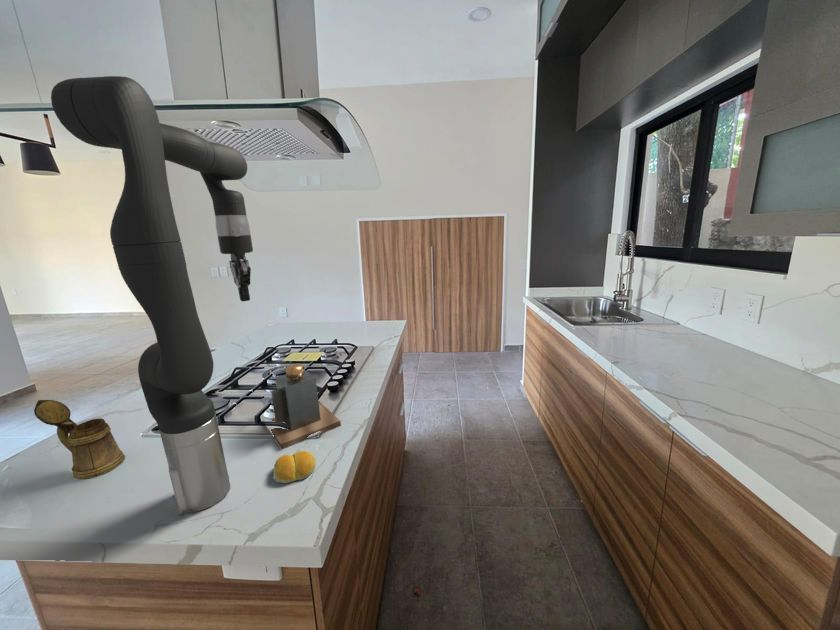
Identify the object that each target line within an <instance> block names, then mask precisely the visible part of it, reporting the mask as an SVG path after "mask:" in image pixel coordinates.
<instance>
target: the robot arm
mask: <svg viewBox="0 0 840 630" xmlns="http://www.w3.org/2000/svg"><path fill="white" fill-rule="evenodd" d="M50 101H51V106H52V109H53V111H54V113H55V116H56V118H57V119H58V120H59V123H60V124H61V125H62V126H63V127H64V128H65V129H66V130H67V132H69V133H70V134H71V135H73V137H75V138H76V139H78V140H80V141H81V142H83V143H85V144H88V145H91V146H95V147H100V148H107V149H108V148H109V149H116V150H121V154H122V160H123V164H124V165H123V166H124V182H123V188H122V193H121V195H120V197H119V200H118V203H117V205H116V208H115V210H114V213H113V217H112V220H111V225H110V229H109V232H110V233H109V235H110V240H111V245H112V249H113V253H114V257H115V259H116V263H117V266H118V270H119V272H120V275H121V277H122V279H123V281H124V282H125V284H126V286H127V288H128V289H129V291H130V292H131V294H132V295H133V297H134V298H135V300H136V301H137V302H138V304H139V305H140V307H141V308H142V309H143V311H144V312H145V314H146V315H147V317H148V319H149V321H150V322H151V326H152V328H153V331H154V334H155V338H156V342H155V343H153V344H151V345H149V346H148V347H147V348H146V349H145V350H144V351H143V352H142V353H141V355H140V358H139V360H138V363H137V372H138V379H139V381H140V382H139V383H140V386H141V389H142V392H143V395H144V398H145V402H146V405H147V406H146V407H147V408H148V411H149V413H150V415H151V417H152V418H153V419H154V420H155V422H156V424H157V426H158V430H159V433H160V437H161V442H162V445H163V449H164V454H165V458H166V460H167V465H168V473H169V477H170V481H171V486H172V489H173V493H174V497H175V502H176V505H177V509H178V512H179V515H184V514H186V513H193V512H194V513H195V512H199V511H203V510H206V509H208V508H211V507H212V506H214V505H216V504H218V503H219V502H220V501H222V500H223V499H224V498H225V497H226V495H228V493H229V491H230V489H231V483H230V476H229V472H228V468H227V467H228V466H227V463H226V459H225V453H224V447H223V443H222V439H221V433H220V428H219V423H218V419H217V415H216V409H215V405H214V402H213V400H212V399H211V398H210V397H209V396H207V395H206V393H204V392H203V389H204V388H206V387H207V385H208V384H209V382H210V381H211V379H212V376H213V373H214V365H215V364H214V359H213V358H214V357H213V354H212V352H211V348H210V346H209V342H208V340H207V338H206V334H205V331H204V329H203V326H202V323H201V321H200V318H199V314H198V310H197V306H196V302H195V297H194V294H193V288H192V286H191V282H190V279H189V272H188V269H187V262H186V258H185V257H186V256H185V254H184V253H185V252H184V249H183V243H182V240H181V235H180V232H179V229H178V226H177V225H178V224H177V221H176V216H175V213H174V212H175V211H174V207H173V203H172V202H173V201H172V197H171V193H170V188H169V186H170V185H169V181H168V176H167V166H166V161H168V162H169V163H170V162H171V163H174V164H176V165H178V166H182V167H185V168H188V169H190V170H193V171H196V172H199V173H200V176H201V178H202V179H203V182H204V185H206V188H207V190H208V193H209V195H210V197H211V198H210V199H211V200H212V206H213V212H214V218H215V230H216V235H217V239H218V240H217V241H218V245H219V252H220V254H222V255H230V260H229V261H228V263H229V268H230V272H231V276H232V277H233V282H234V284H235V285H236V287H237V290H238V295H239V296H238V297H239V300H240V301H241V302H249V301H250V300H251V297H250V289H249V287H250V285H251V271H252V268H251V266H250V262H249V260H248V259H247V258H246V254H247V253H248V254H249V253H252V252H253V251H254V249H253V248H254V247H253V243H252V240H253V239H252V236H251V227H250V224H249V220H248V216H247V209H246V205H245V197H244V194H242V192H240V191H238V190H234V189H233V190H232V189H228V188H226V186H225V185H224V183H223V181H237V180H238V181H239V180H241V179H243V178H244V177H245V176H246V175H247V172H248V164H247V160H246V159H245V157H244V155H243V154H242V153H241V152H240V151H239V150H237V149H236V148H234V147H232V146H228V145H226V144H221V143H218V142H212V141H209V140H208V139H205V138H204V137H201V136H200V135H198V134H196V133H194V132H192V131H189V130H187V129H185V128H181V127H177V126H174V125H169V124H166V123H160V120H159V116H158V112H157V110H156V107H155V105H154V102H153V101H152V99H151V96H150V95H149V94H148V92H147V91H146V89H145V88H144V87H143V86H142V85H141V84H140V83H139V82H137V81H136V80H134V79H133V78H130V77H127V76H121V75H120V76H119V75H118V76H115V75H111V76H110V75H109V76H107V75H105V76H93V77H91V76H90V77H89V76H88V77H76V78H75V77H74V78H67V79H63V80H62V81H59V82H57V83H56V84H55V85H54V86H53V88H52V90H51V96H50Z"/></svg>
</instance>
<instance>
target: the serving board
mask: <svg viewBox="0 0 840 630" xmlns="http://www.w3.org/2000/svg"><path fill="white" fill-rule="evenodd" d="M318 402H319V410H320V418H321V420H320V421H317V422H314V423H312V424H309V425H306V426H304V427H301V428H299V429H296V430H293V431H291V430H287V429H282V428H274V429H271V431H272V433H273V435H274V437H273V439H274V440H275V443H277V444H278V447H280V449H281V450H284V449H286V448H290V447H291V446H294V445H296V444H299V443H301V442H304V441H306V440H308V439H307V437H308V436H309V435H311V434H314V433H316V432H318V431H322V432H323V433H322V434H324V433H325V432H328V431H329V432H330V430H331V431H332V430H334V429H335V428H338V427H341V425H342V424H341V419H339V418H338V417H337V416H336V415H335V414H334V413H333V412H332V411H330V409H328V408H327V406H325V405H324V404H323V403H322V402H321V401H319V400H318ZM271 420H272V421H275V422H284V421H283V419H282V420H279V421H277V420H276V419H275V418H273V419H271Z"/></svg>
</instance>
